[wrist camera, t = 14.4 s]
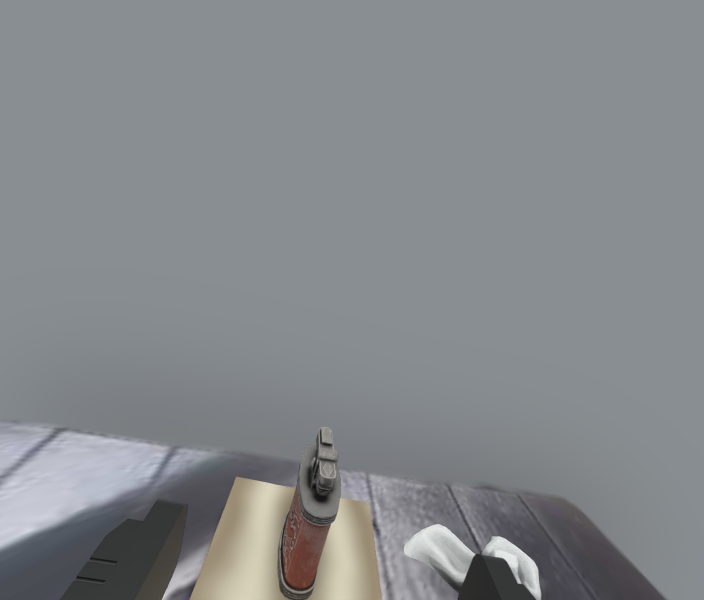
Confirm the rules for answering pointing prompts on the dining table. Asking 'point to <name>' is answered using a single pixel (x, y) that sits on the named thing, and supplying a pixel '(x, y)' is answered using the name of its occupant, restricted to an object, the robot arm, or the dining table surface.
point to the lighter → (309, 518)
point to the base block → (262, 549)
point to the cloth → (468, 557)
